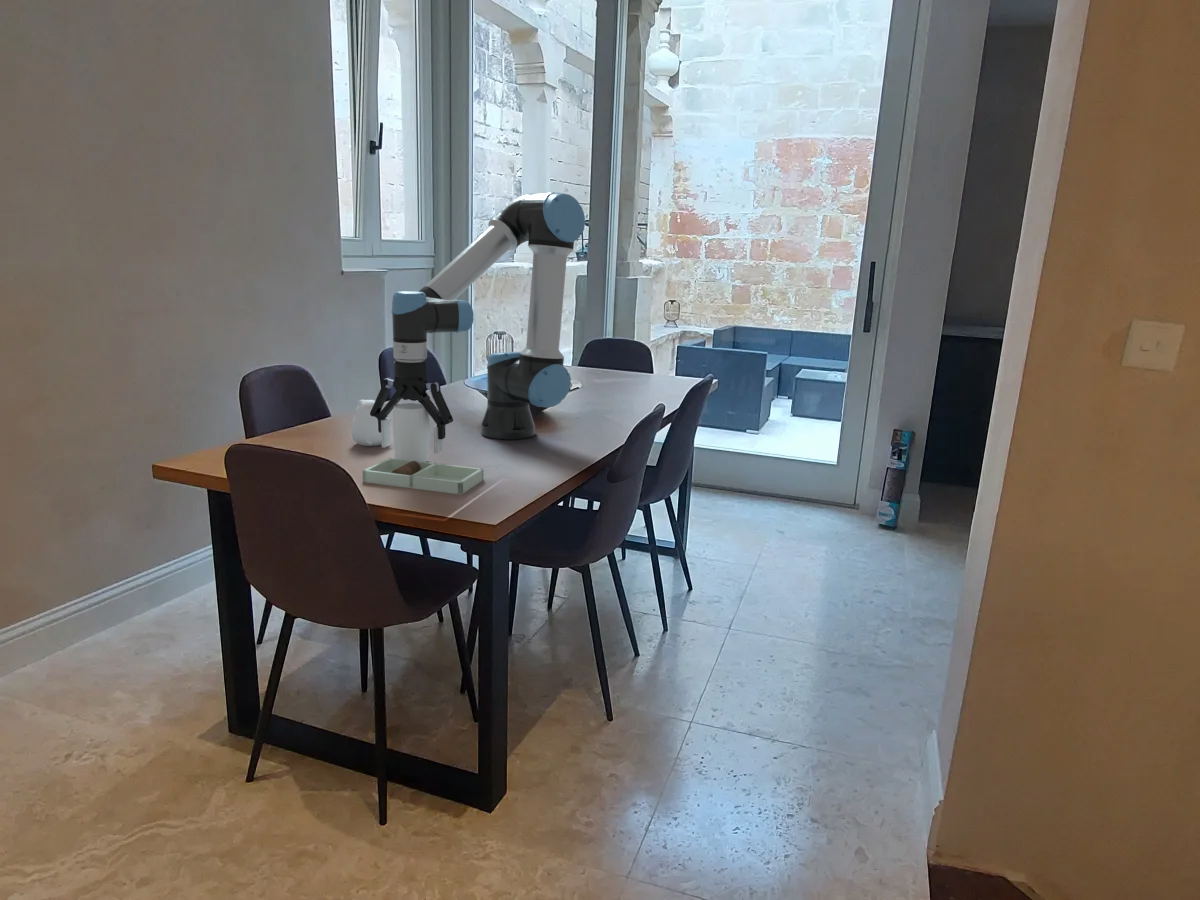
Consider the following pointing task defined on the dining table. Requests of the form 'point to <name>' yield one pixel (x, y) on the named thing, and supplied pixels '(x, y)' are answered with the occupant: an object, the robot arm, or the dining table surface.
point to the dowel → (408, 468)
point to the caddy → (425, 476)
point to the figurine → (366, 425)
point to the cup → (411, 432)
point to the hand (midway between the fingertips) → (411, 449)
